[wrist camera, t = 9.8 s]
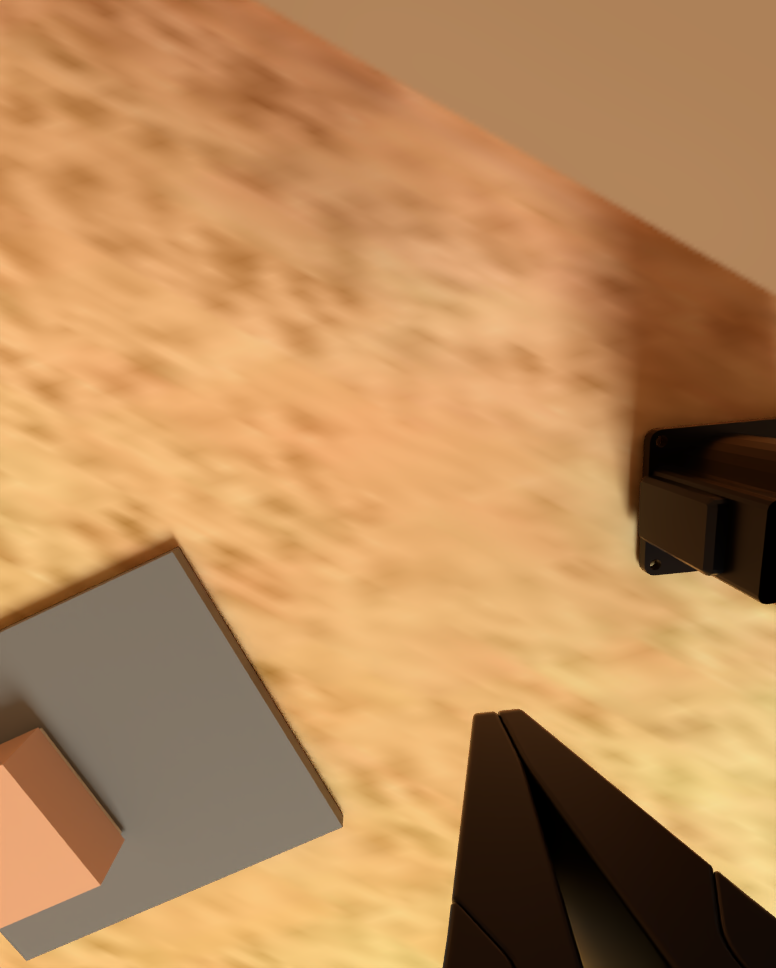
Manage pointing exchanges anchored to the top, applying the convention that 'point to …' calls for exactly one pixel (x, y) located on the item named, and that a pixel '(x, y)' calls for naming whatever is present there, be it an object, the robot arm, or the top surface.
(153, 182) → the top surface
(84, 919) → the mat
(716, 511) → the robot arm
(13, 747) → the tile
